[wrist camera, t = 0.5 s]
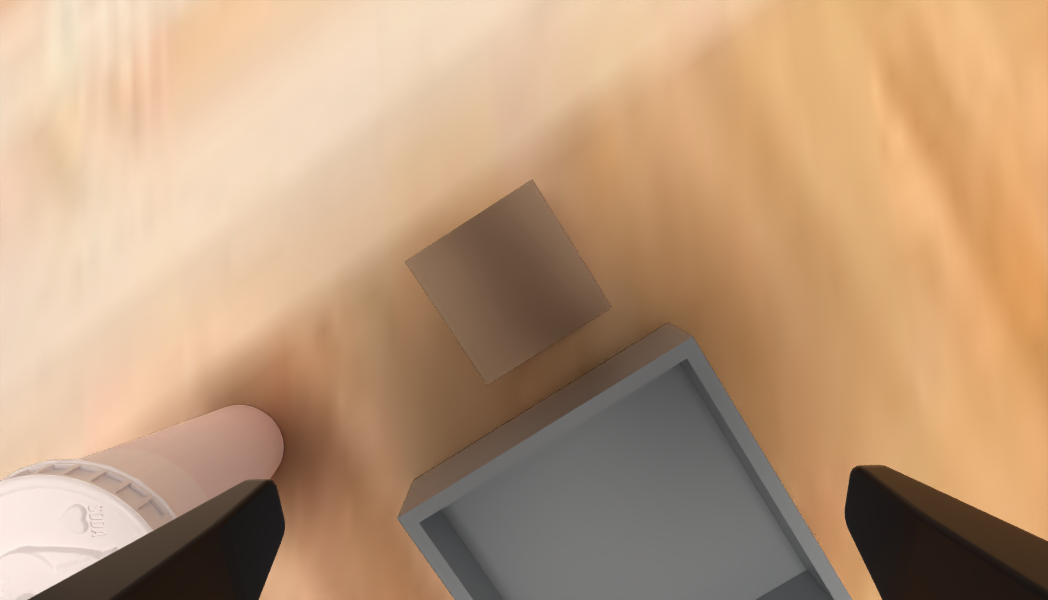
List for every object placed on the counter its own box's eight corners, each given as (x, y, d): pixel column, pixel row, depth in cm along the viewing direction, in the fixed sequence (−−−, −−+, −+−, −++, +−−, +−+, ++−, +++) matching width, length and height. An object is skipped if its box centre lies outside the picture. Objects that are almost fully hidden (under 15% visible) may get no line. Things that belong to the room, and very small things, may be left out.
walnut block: (493, 353, 23) (486, 385, 18) (429, 255, 23) (404, 261, 18) (591, 291, 23) (612, 307, 18) (529, 191, 22) (532, 179, 17)
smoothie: (141, 409, 23) (-418, 671, 9) (273, 350, 23) (-99, 528, 9) (211, 536, 24) (-209, 951, 10) (340, 479, 24) (91, 825, 10)
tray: (570, 704, 25) (577, 772, 22) (413, 480, 24) (397, 518, 21) (815, 562, 25) (859, 611, 21) (668, 322, 23) (692, 336, 20)
